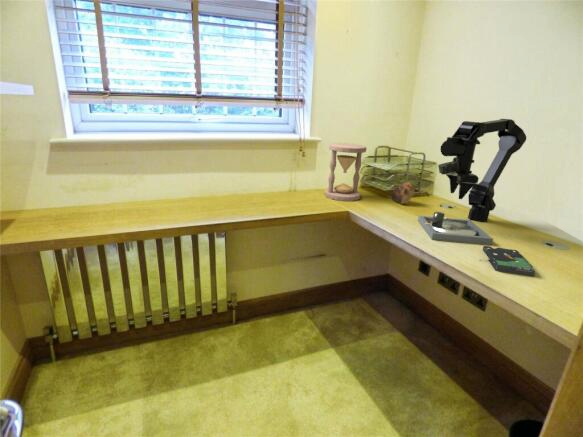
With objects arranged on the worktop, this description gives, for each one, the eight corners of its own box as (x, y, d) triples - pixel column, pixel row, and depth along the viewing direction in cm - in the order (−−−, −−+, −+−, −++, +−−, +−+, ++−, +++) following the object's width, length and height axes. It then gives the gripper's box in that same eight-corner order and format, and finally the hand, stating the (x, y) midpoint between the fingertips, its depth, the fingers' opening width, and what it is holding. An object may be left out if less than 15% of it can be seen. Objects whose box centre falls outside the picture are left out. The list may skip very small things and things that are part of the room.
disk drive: (480, 253, 115) (495, 272, 101) (482, 245, 114) (497, 263, 100) (514, 257, 113) (534, 278, 99) (517, 249, 112) (537, 269, 99)
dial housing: (468, 227, 138) (470, 219, 137) (490, 246, 119) (493, 238, 118) (417, 222, 140) (418, 215, 139) (431, 241, 121) (433, 232, 120)
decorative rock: (413, 206, 163) (417, 183, 159) (401, 206, 161) (405, 183, 158) (398, 199, 174) (402, 178, 170) (388, 199, 172) (391, 178, 168)
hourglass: (355, 192, 181) (361, 144, 173) (364, 202, 164) (371, 148, 156) (322, 191, 180) (326, 142, 171) (327, 200, 163) (332, 146, 155)
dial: (462, 225, 137) (466, 209, 135) (484, 241, 122) (488, 222, 119) (422, 223, 137) (425, 206, 134) (438, 239, 121) (442, 220, 119)
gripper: (435, 151, 140) (428, 188, 145) (451, 158, 122) (442, 200, 127) (464, 153, 139) (455, 190, 144) (483, 160, 122) (473, 203, 127)
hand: (456, 196), depth 136 cm, fingers open, 9 cm apart
